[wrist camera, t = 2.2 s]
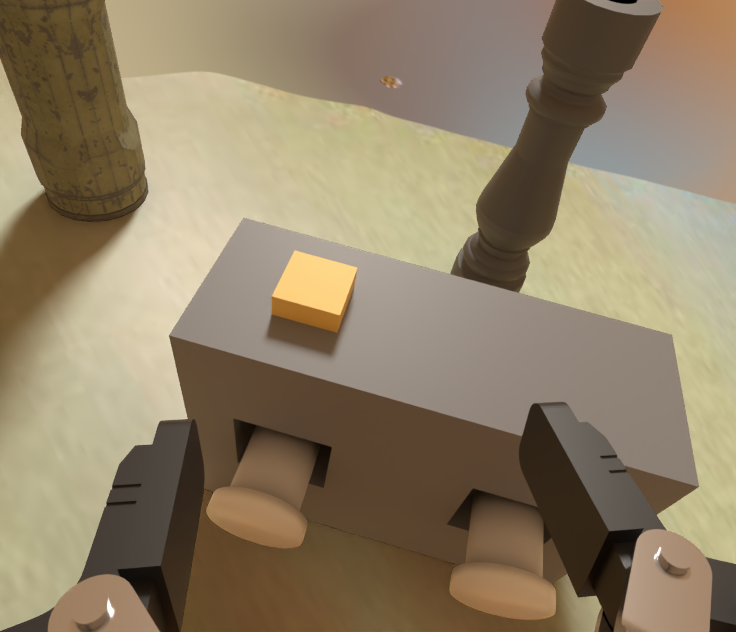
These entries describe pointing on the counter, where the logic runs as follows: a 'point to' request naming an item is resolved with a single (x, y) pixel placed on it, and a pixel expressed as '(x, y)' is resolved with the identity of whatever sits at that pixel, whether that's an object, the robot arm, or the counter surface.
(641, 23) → the candle holder
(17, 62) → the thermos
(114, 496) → the robot arm
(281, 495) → the left button
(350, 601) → the counter surface
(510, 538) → the right button
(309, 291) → the control panel
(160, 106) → the counter surface
